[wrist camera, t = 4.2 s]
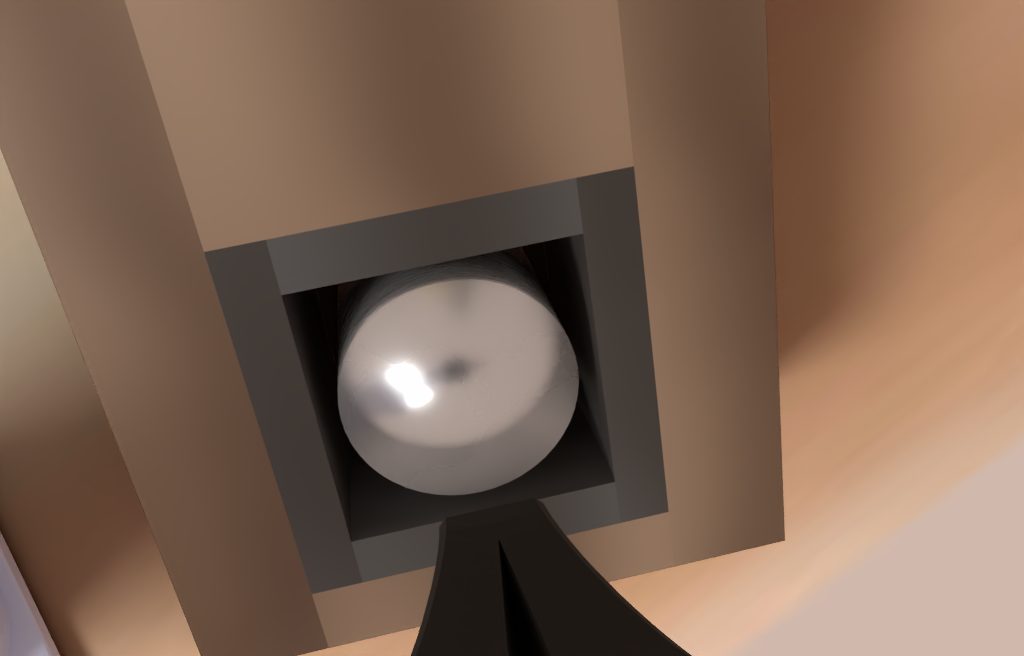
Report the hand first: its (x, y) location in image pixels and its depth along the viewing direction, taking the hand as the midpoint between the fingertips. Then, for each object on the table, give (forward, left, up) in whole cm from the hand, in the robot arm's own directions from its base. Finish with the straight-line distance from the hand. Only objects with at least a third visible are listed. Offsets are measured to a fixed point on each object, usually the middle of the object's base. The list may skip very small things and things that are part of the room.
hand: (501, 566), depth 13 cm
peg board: (0, +6, -10) cm, 12 cm away
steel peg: (0, 0, -10) cm, 10 cm away
